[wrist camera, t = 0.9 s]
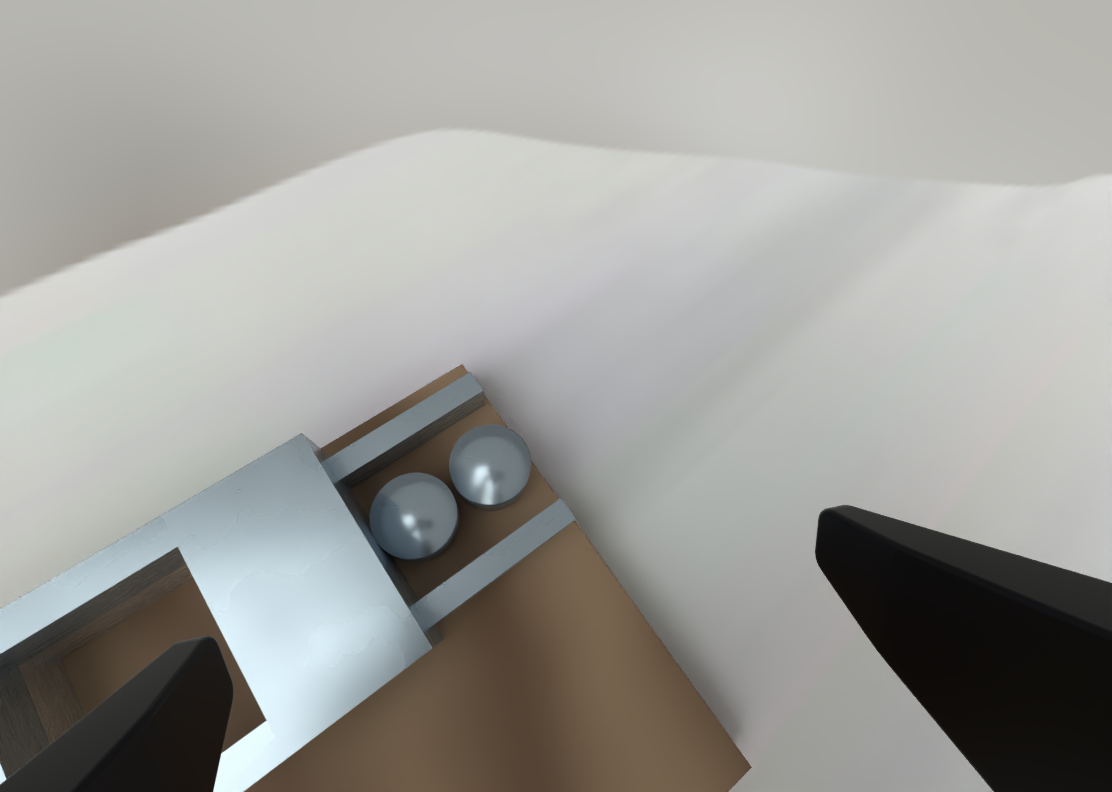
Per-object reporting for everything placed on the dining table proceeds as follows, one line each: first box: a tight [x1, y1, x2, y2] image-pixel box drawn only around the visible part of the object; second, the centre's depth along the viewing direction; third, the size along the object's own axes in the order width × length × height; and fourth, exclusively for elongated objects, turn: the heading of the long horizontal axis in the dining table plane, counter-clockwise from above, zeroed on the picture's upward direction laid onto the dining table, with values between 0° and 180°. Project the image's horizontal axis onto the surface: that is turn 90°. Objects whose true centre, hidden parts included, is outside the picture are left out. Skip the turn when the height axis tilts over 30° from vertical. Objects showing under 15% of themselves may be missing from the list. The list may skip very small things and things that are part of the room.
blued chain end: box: [0, 372, 576, 792], centre depth 15 cm, size 15×7×3 cm, turn 126°
